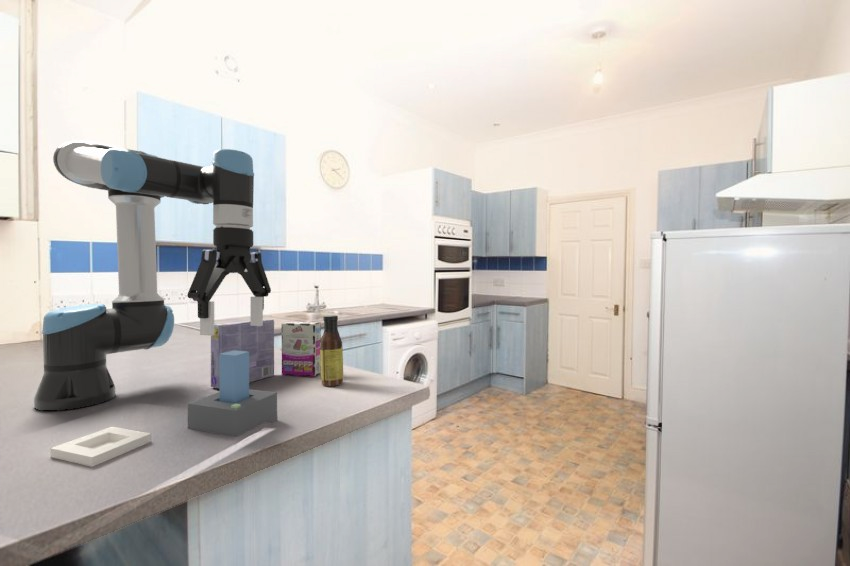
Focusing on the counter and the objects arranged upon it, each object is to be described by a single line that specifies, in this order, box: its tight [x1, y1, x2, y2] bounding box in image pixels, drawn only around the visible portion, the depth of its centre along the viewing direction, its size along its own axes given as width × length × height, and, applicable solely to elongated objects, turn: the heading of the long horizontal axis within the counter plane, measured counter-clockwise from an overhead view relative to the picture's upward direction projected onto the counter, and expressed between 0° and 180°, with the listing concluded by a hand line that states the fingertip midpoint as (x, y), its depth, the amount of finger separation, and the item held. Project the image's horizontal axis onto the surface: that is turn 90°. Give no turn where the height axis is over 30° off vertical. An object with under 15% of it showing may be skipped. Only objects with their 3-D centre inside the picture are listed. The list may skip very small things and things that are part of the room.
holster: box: [50, 426, 152, 467], centre depth 72 cm, size 10×10×2 cm
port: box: [187, 388, 278, 437], centre depth 85 cm, size 12×12×6 cm
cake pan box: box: [210, 319, 275, 390], centre depth 118 cm, size 19×5×18 cm, turn 150°
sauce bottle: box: [320, 314, 344, 387], centre depth 116 cm, size 7×6×20 cm
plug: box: [218, 350, 250, 403], centre depth 85 cm, size 4×4×14 cm
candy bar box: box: [281, 321, 322, 378], centre depth 127 cm, size 11×5×16 cm, turn 81°
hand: (233, 330), depth 85 cm, fingers open, 13 cm apart
